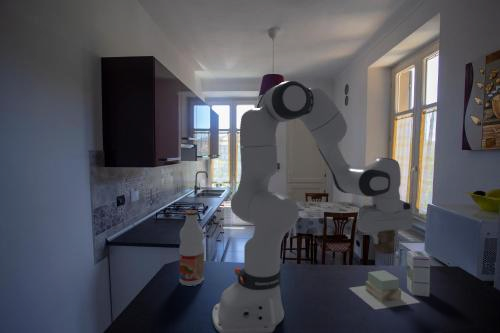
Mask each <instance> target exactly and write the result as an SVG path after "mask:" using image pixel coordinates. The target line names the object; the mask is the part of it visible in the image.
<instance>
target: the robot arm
mask: <svg viewBox="0 0 500 333" xmlns="http://www.w3.org/2000/svg"><path fill="white" fill-rule="evenodd" d="M295 119H296V120H297V119H300V121H301V122H302V123H303V124H304V125H305V127H306V128H307V130H308V131H309V133H310V135H311V136H312V137H313V139H314V141H315V143H316V146H317V148H318V151H319V153H320V154H321V156H322V159H323V160H324V162H325V163H326V165H327V167H328V169H329V171H330V172H331V175H332V179H333V183H334V185H335V188H336V189H337V190H338V191H340V192H341V193H344V194H353V195H358V196H362V197H368V198H369V197H371V204H364V205H362V206H361V207H360V208H359V210H358V217H357V223H356V224H357V226H356V227H357V229H358V231H359V232H362V233H365V234H368V233H370V234H371V236H372V238H373V244H374V243H375V244H380V243H381V239H379V238H378V236H377V235H378V232H382V231H391V230H394V231H395V239H396V238H397V236H398V234H399V231H406V230H411V228H412V227H413V211H412V210H413V204H412V203H410V202H408V201H404V200H401V194H400V187H401V178H402V176H401V167H400V163H399V161H398V160H396V159H394V158H390V157H388V158H387V157H376V158H374V160H373V162H371V163H370V164H367V165H366V166H364V167H359V166H358V167H356V166H352V165H350V164H349V163H348V162H347V161H346V160H345V157H344V156H343V154H342V152H341V149H339V143H340V142H341V141H343V140H344V137H345V136H346V133H347V129H348V124H347V122H346V120H345V117H344V116H343V114H342V113H341V111H340V110H339V108H338V107H337V105H336V104H335V102H334V100H332V99H331V97H329V96H328V95H327V93H326V92H325V91H324V90H323V89H322V88H320V87H317V86H313V87H309V88H308V87H306V86H305V85H303V83H301V82H299V81H294V80H287V81H283V82H281V83H278V85H274V86H272V87H271V88H269V89H268V90H267V91H265V92H264V93H263V94H262V95H261V97H260V99H259V101H258V103H257V106H256V108H252V109H249V110H246V111H245V112H244V113H243V114H242V116H241V118H240V125H239V150H240V166H241V168H240V180H239V185H238V188H237V190H236V191H235V192H234V194H233V195H232V197H231V200H230V209H231V211H232V213H233V214H234V215H235V216H236V217H238V218H239V219H240V220H242V221H244V222H247V223H249V224H252V225H254V231H253V234H252V235H253V236H252V237H251V238H250V239H248V240H247V241H246V242H245V243H244V247H243V248H244V250H243V252H244V254H243V256H244V257H243V258H244V260H243V261H244V264H243V268H242V269H241V268H240V267H239V266H236V267H235V268H234V270H233V271H234V274H235V275H236V276H237V280H236V281H235V282H234V283H233V284H232V285H230V286H229V287H227V288H226V289H224V291H223V292H222V294H221V297H220V299H219V300H220V301H219V303H216V304H215V305H214V306H213V309H212V312H211V313H212V316H211V318H212V324H213V325H214V328H215V329H216V330H217V332H219V333H273V332H274V331H275V330H276V327H277V326H278V325H279V324H280V323H281V322H282V321H283V320H284V317H285V310H284V307H283V304H282V297H281V285H282V272H281V268H280V266H281V265H280V259H281V257H280V256H281V247H282V246H281V245H282V242H283V239H284V237H285V236H286V234H287V232H289V231H291V230H292V229H293V228H294V227H295V226H296V225H297V223H298V220H299V216H300V215H299V214H300V211H299V207H298V204H297V202H296V201H295V200H294V199H292V198H291V197H289V196H287V195H285V194H282V193H279V192H275V191H274V192H273V191H270V190H269V183H270V181H271V180H270V179H271V178H272V177H273V176H274V175H276V173H277V171H278V168H279V167H278V152H277V151H278V148H277V136H276V133H277V128H278V125H279V123H286V122H290V121H292V120H295ZM394 243H396V240H395V241H394Z"/></svg>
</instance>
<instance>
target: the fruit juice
mask: <svg viewBox="0 0 500 333" xmlns="http://www.w3.org/2000/svg"><path fill="white" fill-rule="evenodd" d="M184 215H185V221H184V224H183V226H182V228H180V231H179V239H180V244H179V253H178V254H179V256H178V257H179V283H181V284H183V285H187V286H192V285H197V284H200V283H201V282H202V281H203V280H205V244H204V242H203V239H204V229H203V228H202V226H201V225H200V223H199V221H198V215H199V212H198V210H196V209H195V210H194V209H192V210H191V209H190V210H185V213H184ZM203 282H204V281H203ZM203 282H202V283H203ZM202 283H201V284H202ZM181 284H180V285H181ZM201 284H200V285H201ZM183 285H182V286H183Z"/></svg>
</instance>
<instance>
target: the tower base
mask: <svg viewBox="0 0 500 333" xmlns="http://www.w3.org/2000/svg"><path fill="white" fill-rule="evenodd" d="M365 286H366V291H367V292H368V293H370V294H371V295H372V296H374V297H375V298H376V299H378V300H379V301H380V302H387V301H393V300H400V299H401V290H402V288H400V287H399V289H395V290H388V291H381V290H379V289H378V288H376V287H375V286H373V285H372V284H371V283H369V282H368V280H366V281H365Z"/></svg>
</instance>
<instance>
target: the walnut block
mask: <svg viewBox="0 0 500 333" xmlns="http://www.w3.org/2000/svg"><path fill="white" fill-rule="evenodd" d="M377 236H378V238H379V239H381V243H380V244H375V243H374V242H373V251H375V252H377V253H379V254H381V255H390V254H392V255H393V254H395V242H396V238H395V231H394V230H391V231H382V232H378V235H377ZM394 241H395V242H394Z"/></svg>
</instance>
